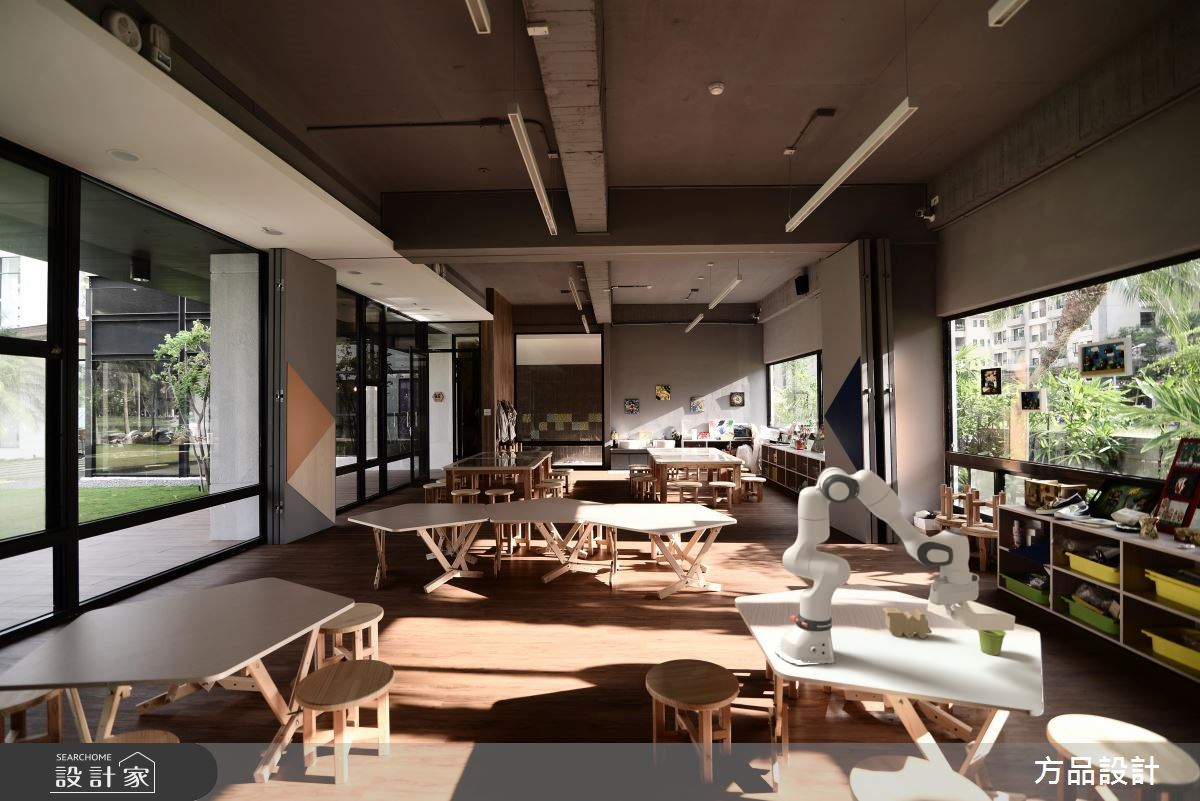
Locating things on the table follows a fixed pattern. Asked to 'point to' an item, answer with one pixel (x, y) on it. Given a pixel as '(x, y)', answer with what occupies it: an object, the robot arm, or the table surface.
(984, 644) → the plant pot
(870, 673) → the table surface
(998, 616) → the cream open tray
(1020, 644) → the table surface
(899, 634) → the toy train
